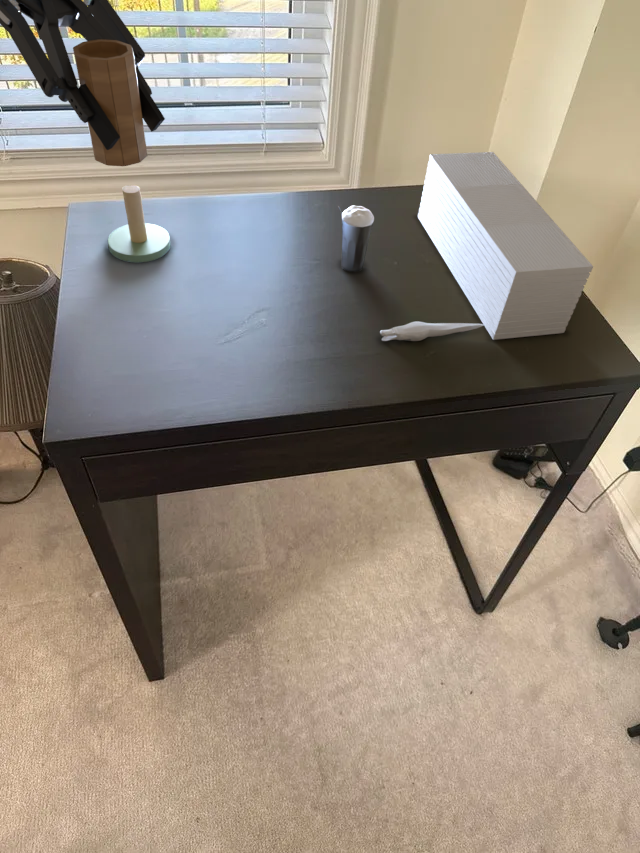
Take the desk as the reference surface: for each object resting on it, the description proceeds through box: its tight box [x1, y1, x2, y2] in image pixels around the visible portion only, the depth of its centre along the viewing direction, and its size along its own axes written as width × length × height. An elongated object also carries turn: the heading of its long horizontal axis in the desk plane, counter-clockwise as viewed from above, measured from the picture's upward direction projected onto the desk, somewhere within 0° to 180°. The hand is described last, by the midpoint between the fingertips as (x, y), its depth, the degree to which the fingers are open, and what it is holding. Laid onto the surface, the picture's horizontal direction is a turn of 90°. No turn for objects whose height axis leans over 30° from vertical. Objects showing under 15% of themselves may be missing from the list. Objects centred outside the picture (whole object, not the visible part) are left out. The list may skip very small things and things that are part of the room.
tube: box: [72, 39, 148, 167], centre depth 76 cm, size 6×7×12 cm
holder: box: [107, 184, 172, 264], centre depth 93 cm, size 9×9×9 cm
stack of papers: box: [417, 151, 594, 341], centre depth 94 cm, size 32×11×11 cm, turn 13°
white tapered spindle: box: [379, 320, 485, 342], centre depth 86 cm, size 15×3×2 cm, turn 103°
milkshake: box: [337, 204, 375, 273], centre depth 92 cm, size 4×5×10 cm
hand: (136, 134), depth 77 cm, fingers closed on tube, 6 cm apart
